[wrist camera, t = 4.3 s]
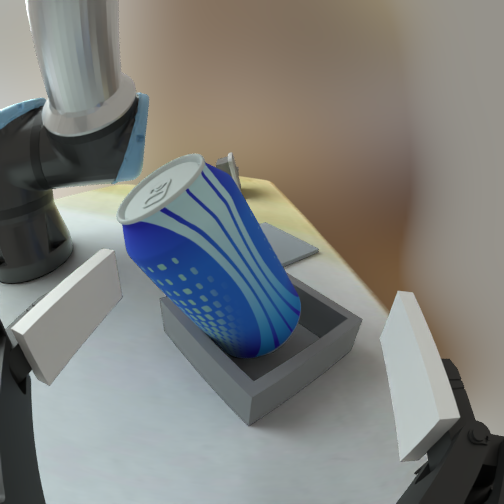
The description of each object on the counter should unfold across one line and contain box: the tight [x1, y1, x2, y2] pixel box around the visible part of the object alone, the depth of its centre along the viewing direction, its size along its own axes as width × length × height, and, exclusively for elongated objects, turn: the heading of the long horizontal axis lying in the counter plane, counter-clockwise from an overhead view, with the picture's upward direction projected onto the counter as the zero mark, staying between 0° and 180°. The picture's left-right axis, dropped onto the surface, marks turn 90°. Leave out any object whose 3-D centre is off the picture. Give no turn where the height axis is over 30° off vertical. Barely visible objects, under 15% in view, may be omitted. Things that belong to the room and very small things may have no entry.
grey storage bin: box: [160, 273, 362, 426], centre depth 27 cm, size 13×13×4 cm
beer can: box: [116, 154, 301, 358], centre depth 23 cm, size 8×8×16 cm
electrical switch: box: [216, 153, 241, 192], centre depth 68 cm, size 9×5×9 cm, turn 3°
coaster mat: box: [259, 222, 319, 267], centre depth 46 cm, size 12×12×1 cm
